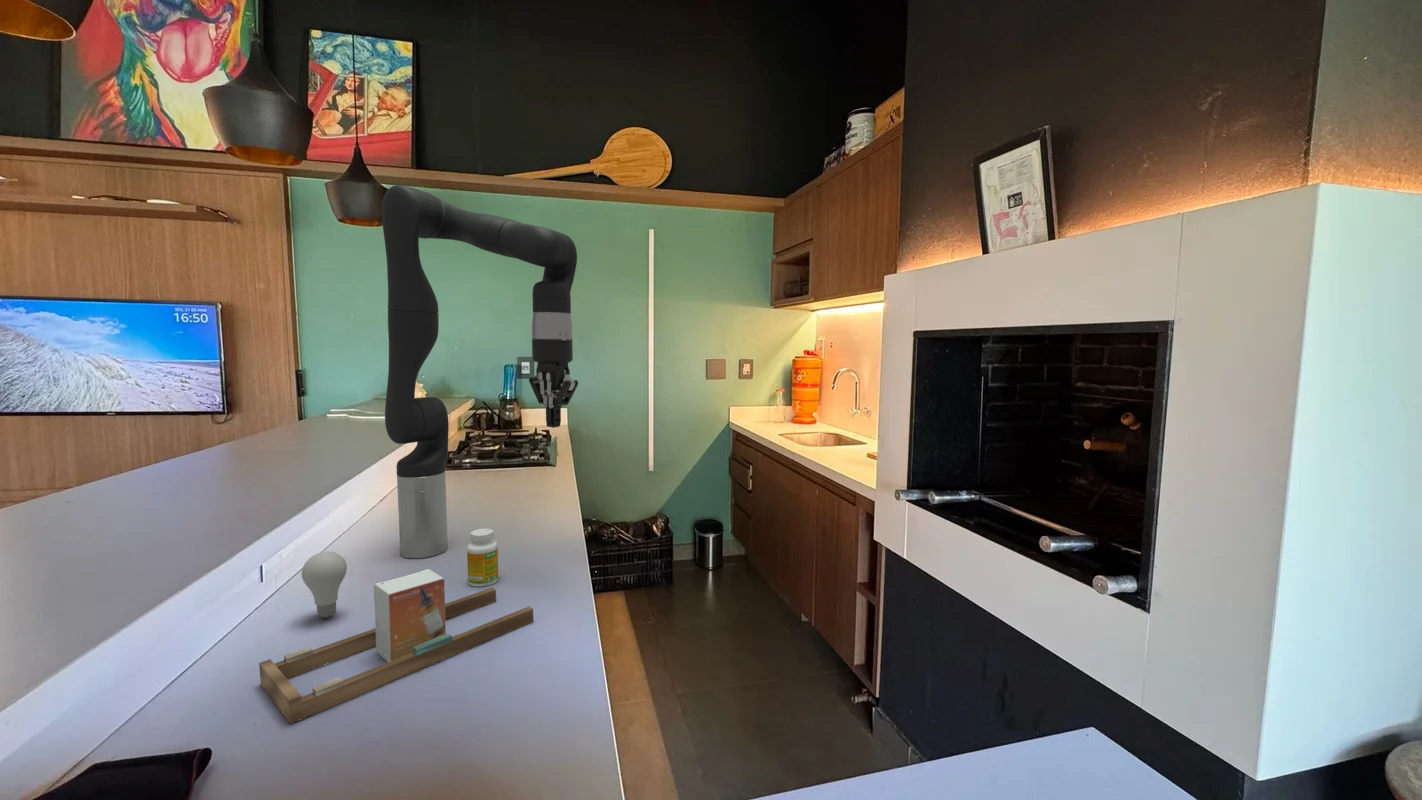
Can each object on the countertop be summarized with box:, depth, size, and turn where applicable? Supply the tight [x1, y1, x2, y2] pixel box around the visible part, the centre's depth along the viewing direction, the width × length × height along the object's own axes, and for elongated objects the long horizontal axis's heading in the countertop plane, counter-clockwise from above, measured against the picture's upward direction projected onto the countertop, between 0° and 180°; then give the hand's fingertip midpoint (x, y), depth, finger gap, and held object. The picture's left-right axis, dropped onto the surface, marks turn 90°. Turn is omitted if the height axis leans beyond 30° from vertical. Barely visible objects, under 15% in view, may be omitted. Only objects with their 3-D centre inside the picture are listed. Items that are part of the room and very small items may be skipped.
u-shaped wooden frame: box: [258, 587, 534, 724], centre depth 85 cm, size 12×33×3 cm, turn 141°
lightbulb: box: [301, 550, 348, 619], centre depth 94 cm, size 6×6×11 cm
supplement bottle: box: [466, 528, 499, 588], centre depth 109 cm, size 5×5×10 cm
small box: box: [373, 568, 447, 663], centre depth 85 cm, size 8×6×10 cm
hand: (553, 426), depth 112 cm, fingers closed
